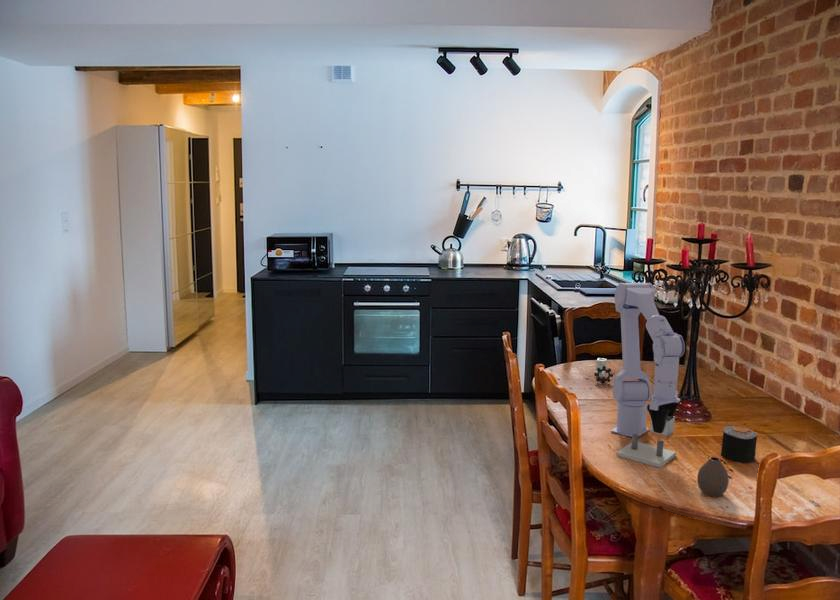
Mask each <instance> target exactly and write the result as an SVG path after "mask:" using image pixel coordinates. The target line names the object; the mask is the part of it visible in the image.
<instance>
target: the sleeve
mask: <svg viewBox="0 0 840 600" xmlns="http://www.w3.org/2000/svg"><path fill="white" fill-rule="evenodd" d="M675 419H676V418H675V416H668V415H667V417H666V420H665V424H664V429H663V432H662V433H657V432H654V431H653V425H652V420H651V419H650V428H649V436H651V437H654V438H658V439H662V440H668V439H670V438H671V437H673V436H674V431H675V430H674V429H675Z"/></svg>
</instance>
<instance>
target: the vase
mask: <svg viewBox="0 0 840 600" xmlns="http://www.w3.org/2000/svg"><path fill="white" fill-rule="evenodd" d="M696 479H697V485H698V488H699V490H700V491H701V492H702V493H703V494H704V495H705V496H708V497H712V498H713V497H714V498H716V497H717V498H718V497H720V496H723V494H725V493H726V492H727V489H728V487H729V483H730V477H729V473H728V471H727V469H726V467H725V465H724V464H723V463H722V460H721V459H720V458H719V457H716V456H710V457H709V458H708V460H707V461H706V462H705V463H703V464H702V465H701V467H699V470H698V472H697V478H696Z"/></svg>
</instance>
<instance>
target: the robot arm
mask: <svg viewBox="0 0 840 600" xmlns="http://www.w3.org/2000/svg"><path fill="white" fill-rule="evenodd" d="M655 291H656V290H655V287H654V286H653V284H652V283H651V282H643V283H642V282H637V283H636V282H633V283H632V282H631V283H630V282H629V283H626V282H625V283H624V282H619V283H618V284H617V285H616V288H615V291H614V304H615V305H614V307H615V312H618V314H620V330H621V331H620V332H621V350H622V352H621V353H622V356H621V357H622V370H620V371H619V372H618V373H617V374H615V376H613V385H612V395H613V399H614V400H615V401H616V402H617V417H616V426H615V427H614V428H612V429H610V432H611V433H614V434H619V435H622V436H626V437H630V438H632V434H638V438H639V437H641V436H642V435H643V434H645V433H646V432H648V431H650V428H649V427H647V419H648V418H647V417H648V413H649V416H650V421H651V420H652V425H653V431H654V432H657V433H662V432H663V429H664V424H665V420H666V417H667V415H668V416H673V417H675V416H674V415H675V413H676V411H677V409H678V407H679V406H680V404H681V403H680V402H681V398H679V397H678V393H679V390H677V387H678V378H679V377H678V376H679V365H680V358H682V357H683V355H684V354H685V349H686V348H685V347H686V346H685V345H686V343H685V341H684V338H683V336H682V335H681V334H678V333H677V332H674V330H673V328H672V327H671V325H670V323H669V322H668V319H667V318H666V317H665V316H664V315H660V313H659V310H658V308H657V305H656V303H655V297H656V293H655ZM640 314H642V315H643V317H644V318H645V320H646V323H645V328H646V330H647V332H648V334H649V336H650V338H651V340H652V342H653V343H652V351H653V361H654V364H655V365H654V377H653V378H654V379H653V389H652V387H651V382H650V381H651V380H650V376H649V375H648V374H647V373H645V372H644V371H643V370H642V369H641V350H640V329H639V316H640ZM650 400H651V401H650ZM648 402H649V404H648V405H647V403H648Z"/></svg>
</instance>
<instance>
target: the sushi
mask: <svg viewBox="0 0 840 600" xmlns="http://www.w3.org/2000/svg"><path fill="white" fill-rule="evenodd" d="M724 427H725V428H722V431H723V432H722V440H721V451H720V456H721V457H723V459H724V458H725V459H726V460H729V461H733V462H735V463H740V464H750V463H753V461H755V459H756V449H757V440H758V432H757V431H756V432H755V431H754V430H753V429H750V428H747V427H742V426H735V425H729V426H724Z"/></svg>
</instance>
